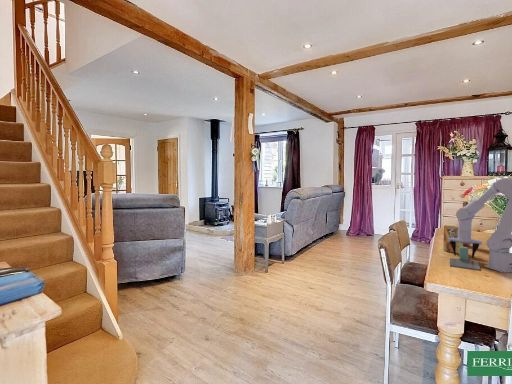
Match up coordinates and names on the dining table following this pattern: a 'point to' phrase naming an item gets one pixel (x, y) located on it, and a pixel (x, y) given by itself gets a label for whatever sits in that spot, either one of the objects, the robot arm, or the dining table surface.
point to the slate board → (464, 264)
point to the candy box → (451, 232)
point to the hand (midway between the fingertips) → (463, 256)
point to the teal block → (464, 253)
